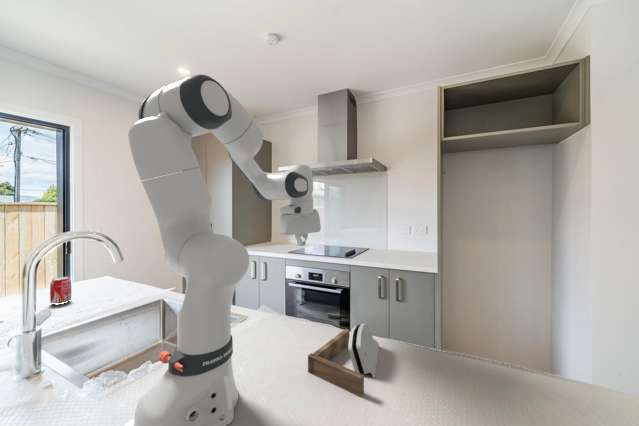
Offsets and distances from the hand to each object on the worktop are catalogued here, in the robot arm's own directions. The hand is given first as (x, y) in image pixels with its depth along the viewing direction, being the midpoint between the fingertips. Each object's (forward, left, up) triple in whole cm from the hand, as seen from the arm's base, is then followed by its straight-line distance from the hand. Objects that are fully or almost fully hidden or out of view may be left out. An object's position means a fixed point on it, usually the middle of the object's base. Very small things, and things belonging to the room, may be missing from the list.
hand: (301, 245), depth 96 cm
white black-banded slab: (-5, -28, -31) cm, 42 cm away
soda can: (-48, +108, -31) cm, 123 cm away
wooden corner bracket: (-10, -27, -31) cm, 42 cm away
